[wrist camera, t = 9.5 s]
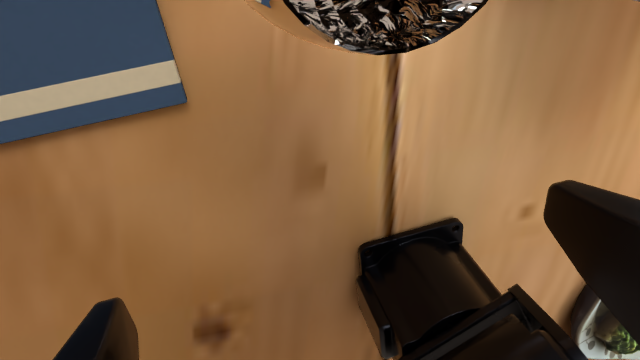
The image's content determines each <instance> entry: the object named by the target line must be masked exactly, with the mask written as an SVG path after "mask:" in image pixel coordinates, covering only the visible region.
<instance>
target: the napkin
mask: <svg viewBox="0 0 640 360" xmlns="http://www.w3.org/2000/svg"><path fill="white" fill-rule="evenodd" d="M186 102H187V97H186V94H185V91H184V88H183V84H182V81H181V78H180V75H179V72H178V68H177V65H176V62H175V59H174V56H173V52H172V49H171V46H170V43H169V40H168V36H167V33H166V30H165V27H164V24H163V20H162V17H161V14H160V11H159V8H158V4H157V1H156V0H0V144H2V143H7V142H11V141H16V140H20V139H25V138H29V137H34V136H38V135H43V134H47V133H52V132H56V131H61V130H65V129H70V128H74V127H79V126H83V125H88V124H92V123H97V122H101V121H106V120H110V119H115V118H119V117H124V116H128V115H133V114H137V113H142V112H146V111H151V110H155V109H160V108H164V107H169V106H173V105H178V104H182V103H186Z"/></svg>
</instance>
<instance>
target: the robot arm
mask: <svg viewBox="0 0 640 360" xmlns="http://www.w3.org/2000/svg"><path fill="white" fill-rule="evenodd" d="M544 220H545V223H546V225H547V227H548V228H549V230H550V231H551V233H552V234H553V236H554V237H555V239H556V240H557V241H558V243H559V244H560V246H561V247H562V249H563V250H564V252H565V253H566V255H567V256H568V258H569V259H570V260H571V262H572V263H573V265H574V266H575V268H576V269H577V271H578V272H579V273H580V275H581V276H582V278H583V279H584V280H585V282H586V283H587V284H588V285H589V287H590V288H591V289H592V290H593V292H594V293H595V294H596V295H597V296H598V298H599V299H600V300H601V301H602V302H603V303H604V305H605V306H606V307H607V308H608V309H609V311H610V312H611V313H612V314H613V315H614V317H615V318H616V319H617V320H618V321H619V322H620V324H621V325H622V326H623V327H624V328H625V330H626V331H627V332H628V333H629V334H630V336H631V337H632V338H633V339H634V340H635V341H636V343H637V344H638V345H639V346H640V200H638V199H635V198H631V197H628V196H624V195H621V194H618V193H614V192H611V191H607V190H604V189H600V188H597V187H594V186H590V185H587V184H583V183H580V182H576V181H573V180H565V181H561V182H557V183H554V184H552V185H551V186H550V187H549V189H548V193H547V198H546V204H545V209H544ZM453 226H454V227H453ZM462 236H463V224H462V223H461V222H460V221H459V219H457V218H452V219H448V220H445V221H441V222H438V223H434V224H431V225H427V226H423V227H420V228H416V229H413V230H409V231H406V232H402V233H399V234H395V235H392V236H388V237H384V238H381V239H377V240H374V241H370V242H367V243H364V244H362V245H361V246H360V247H359V249H358V256H359V265H360V276H358V277H357V279H356V285H357V294H358V302H359V308H360V310H361V312H362V314H363V317H364V319H365V321H366V324H367V326H368V328H369V330H370V333H371V335H372V337H373V339H374V342H375V344H376V346H377V349H378V351H379V353H380V355H381V357H383V358H384V359H389V358H393V360H588V358H587V357H586V356H585V355H584V353H583V352H582V351H581V350H580V348H579V347H578V346H577V345H576V344H575V342H574V341H573V340H572V339H571V338H570V337H569V336H568V335H567V334H566V333H565V331H564V330H563V329H562V328H561V327H560V326H559V325H558V324H557V323H556V322H555V321H554V320H553V319H552V318H551V317H550V316H549V315H548V314H547V313H546V312H545V311H544V310H543V309H542V308H541V307H540V306H539V305H538V304H537V303H536V302H535V301H534V300H533V299H532V298H531V297H530V296H529V295H528V294H527V293H526V292H525V291H524V290H523V289H522V288H521V287H520V286H519V285H518V284H515V285H514V286H512V287H511V288H509V289H508V292H506V293H504V294H503V295H502V294H501V293H500V292H499V291H498V289H497V288H496V287H495V286H494V284H493V283H492V282H491V281H490V279H489V278H488V277H487V276H486V274H485V273H484V272H483V271H482V269H481V268H480V267H479V266H478V265H477V263H476V262H475V261H474V260H473V258H472V257H471V256H470V255H469V253H468V252H467V251H466V250H465V248H464V247H463V246H462ZM368 250H369V251H368ZM366 251H368V252H366ZM365 252H366V253H365ZM53 360H139V348H138V333H137V329H136V326H135V324H134V322H133V320H132V318H131V316H130V314H129V312H128V310H127V308H126V306H125V304H124V302H123V301H122V300H121V299H120V298H112V299H108V300H105V301H101V302H98V303H97V304H95V305H94V306H93V308H92V309H91V310H90V312H89V313H88V314H87V316H86V317H85V318H84V320H83V321H82V322H81V323H80V325H79V326H78V327H77V329H76V330H75V331H74V333H73V334H72V335H71V336H70V338H69V339H68V340H67V342H66V343H65V344H64V346H63V347H62V348H61V350H60V351H59V352H58V353H57V355H56V356H55V357H54V359H53Z"/></svg>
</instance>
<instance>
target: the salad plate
mask: <svg viewBox="0 0 640 360" xmlns="http://www.w3.org/2000/svg"><path fill="white" fill-rule="evenodd" d="M571 337H572V340H573V341H574V342H575V344H576V345H577V346H578V347H579V348H580V350H581V351H582V352H583V353H584V355H585V356H586V357H587V358H589V359H631V360H636V359H637V360H640V346H639V345H638V344H637V343H636V341H635V340H634V339H633V338H632V337H631V336H630V334H629V333H628V332H627V331H626V330H625V328H624V327H623V326H622V325H621V324H620V322H619V321H618V320H617V319H616V318H615V317H614V315H613V314H612V313H611V312H610V311H609V309H608V308H607V307H606V306H605V305H604V303H603V302H602V301H601V300H600V299H599V298H598V296H597V295H596V294H595V293H594V292H593V290H592V289H591V288H590V287H589V285H588V284H587V285H586V286H585V287H584V289H583V291H582V292H581V294H580V295H579V297H578V299H577V301H576V304H575V306H574V309H573V312H572V315H571Z"/></svg>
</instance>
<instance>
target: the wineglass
mask: <svg viewBox="0 0 640 360" xmlns="http://www.w3.org/2000/svg"><path fill="white" fill-rule="evenodd" d="M244 1H245V2H246V3H247V4H248V5H249V6H250V7H251V8H252V9H253V10H255V11H256V12H257V13H258V14H259V15H261V16H262V17H263V18H264V19H265V20H267V21H268V22H269V23H271V24H273V25H274V26H276V27H278V28H280V29H282V30H283V31H285V32H287V33H289V34H291V35H292V36H294V37H296V38H298V39H301V40H304V41H307V42H309V43H312V44H315V45H318V46H321V47H324V48H329V49H334V50H338V51H343V52H348V53H356V54H365V55H385V54H396V53H406V52H409V51H412V50H415V49H418V48H421V47H423V46H426V45H429V44H432V43H435V42H437V41H438V40H440V39H442V38H443V37H445V36H447V35H448V34H450V33H451V32H453V31H455V30H456V29H458V28H460V27H461V26H462V25H463V24H464V23H466V22H467V21H468V20H469V19H470V18H471V17H472V16H473V15H474V14H475V13H476V12H478V11H479V10H480V9H481V8H482V7H483V6H484V5H485V4H486V3H487V1H488V0H244Z"/></svg>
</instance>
